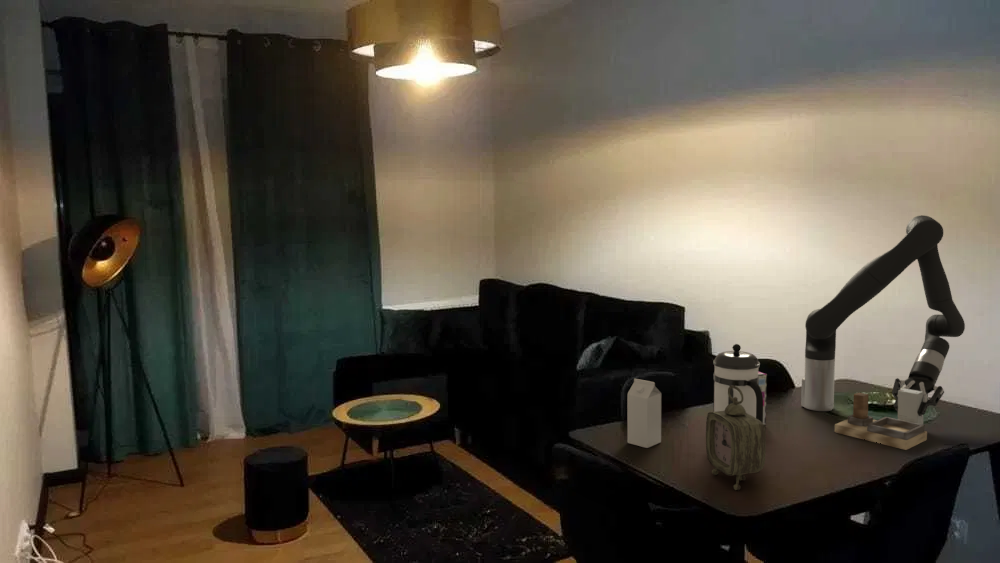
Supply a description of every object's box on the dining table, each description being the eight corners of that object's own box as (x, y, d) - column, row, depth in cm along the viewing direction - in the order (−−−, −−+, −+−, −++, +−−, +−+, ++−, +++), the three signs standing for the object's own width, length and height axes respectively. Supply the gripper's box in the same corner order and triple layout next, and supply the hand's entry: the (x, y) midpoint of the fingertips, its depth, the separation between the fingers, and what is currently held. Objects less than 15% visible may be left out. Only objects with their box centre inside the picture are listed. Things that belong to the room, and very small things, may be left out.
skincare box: (923, 430, 229) (925, 391, 228) (917, 433, 226) (919, 394, 225) (902, 425, 234) (904, 387, 232) (895, 428, 231) (897, 390, 230)
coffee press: (699, 449, 217) (700, 346, 214) (718, 433, 230) (719, 337, 227) (761, 460, 207) (763, 353, 204) (777, 443, 220) (779, 342, 217)
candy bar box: (766, 425, 238) (768, 374, 236) (753, 426, 236) (754, 375, 234) (746, 415, 248) (746, 366, 246) (732, 416, 247) (733, 367, 245)
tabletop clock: (705, 473, 199) (706, 380, 196) (736, 469, 201) (737, 378, 198) (734, 494, 185) (735, 395, 182) (767, 490, 187) (769, 392, 184)
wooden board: (834, 432, 229) (835, 395, 228) (856, 423, 237) (857, 387, 236) (906, 450, 213) (907, 410, 211) (926, 439, 221) (928, 401, 219)
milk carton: (641, 437, 229) (641, 376, 226) (661, 442, 224) (661, 380, 221) (627, 443, 224) (627, 380, 221) (647, 448, 219) (647, 384, 216)
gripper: (899, 356, 238) (879, 400, 232) (949, 364, 226) (929, 410, 221) (906, 370, 242) (887, 413, 236) (955, 378, 230) (936, 424, 225)
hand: (908, 412), depth 228 cm, fingers closed on skincare box, 6 cm apart
